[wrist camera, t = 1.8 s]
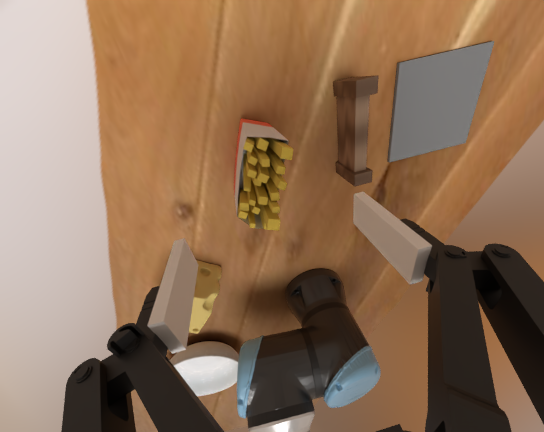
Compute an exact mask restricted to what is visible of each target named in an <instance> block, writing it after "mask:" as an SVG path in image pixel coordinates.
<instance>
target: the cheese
mask: <svg viewBox="0 0 544 432" xmlns="http://www.w3.org/2000/svg"><path fill="white" fill-rule="evenodd" d="M196 261H197V263H198V271H197V278H196V285H195V292H194V299H193V306H192V313H191V320H190V327H189V332H191V333H196V334H198V333H199V331H200V330H201V328H202V327H203V325H204V324H205V322H206V321H207V319H208V318H209V316H210V315H211V313H212V307H213V302H214V300H215V298H216V297H217V295H218V293H219V290H220V284H219V283H218V282H219V279H220V278H221V273H222V270H221V267H220V266H218V265H214V264H209V263H205V262H202V261H199V260H196ZM160 285H161V284H160Z"/></svg>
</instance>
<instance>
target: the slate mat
mask: <svg viewBox="0 0 544 432" xmlns="http://www.w3.org/2000/svg"><path fill="white" fill-rule="evenodd" d="M493 45H494V41H491V42H487V43H482V44H478V45H474V46H469V47H465V48H461V49H456V50H452V51H448V52H443V53H439V54H435V55H430V56H426V57H422V58H417V59H413V60H408V61H404V62H400V63H397V71H396V81H395V91H394V101H393V111H392V121H391V131H390V141H389V151H388V161H387V162H393V161H397V160H401V159H405V158H408V157H412V156H416V155H420V154H424V153H428V152H432V151H436V150H440V149H443V148H447V147H451V146H455V145H459V144H463V143H466V139H467V136H468V132H469V129H470V125H471V122H472V118H473V115H474V111H475V108H476V104H477V101H478V97H479V94H480V90H481V87H482V83H483V80H484V76H485V73H486V69H487V66H488V62H489V59H490V55H491V52H492V48H493Z"/></svg>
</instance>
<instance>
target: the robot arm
mask: <svg viewBox="0 0 544 432" xmlns="http://www.w3.org/2000/svg"><path fill="white" fill-rule="evenodd" d="M353 223H354V224H355V225H356V226H357V228H358V229H359V230H360V231H361V232H362V233H363V234H364V235H365V236H366V237H367V238H368V239H369V241H370V242H371V243H372V244H373V245H374V246H375V247H376V248H377V249H378V250H379V251H380V253H381V254H382V255H383V256H384V257H385V258H386V259H387V260H388V261H389V262H390V263H391V265H392V266H393V267H394V268H395V269H396V270H397V271H398V272H399V273H400V274H401V275H402V277H403V278H404V279H405V280H406V281H407V282H408V283H409V284H414V283H417V282H420V281H422V280H423V276H424V274H425V275H426V276H427V277H428V278H429V282H428V285H427V288H426V291H427V292H428V413H427V419H426V427H425V432H511V428H510V424H509V420H508V418H507V416H506V414H505V412H504V411H503V410H501V409H500V408H499V406H498V404H497V400H496V395H495V389H494V384H493V379H492V373H491V368H490V363H489V358H488V352H487V347H486V342H485V336H484V330H483V325H482V320H481V315H480V309H479V304H478V301H479V303H480V305H481V307H482V309H483V311H484V313H485V315H486V317H487V318H488V320H489V322H490V324H491V326H492V328H493V329H494V332H495V333H496V335H497V337H498V339H499V341H500V343H501V344H502V347H503V348H504V350H505V352H506V354H507V356H508V358H509V360H510V362H511V363H512V365H513V367H514V369H515V371H516V373H517V375H518V377H519V379H520V380H521V382H522V384H523V386H524V388H525V390H526V392H527V394H528V395H529V397H530V399H531V401H532V403H533V405H534V407H535V409H536V411H537V412H538V414H539V416H540V418H541V420H542V422H543V424H544V282H543V281H542V279H541V278H540V277H539V276H538V275H537V274H536V272H535V271H534V270H533V269H532V268H531V267H530V266H529V265H528V263H527V262H526V261H525V260H524V259H523V257H522V256H521V255H520V254H519V253H518V252H517V251H516V250H514V249H512V248H510V247H508V246H505V245H501V244H488V245H486V246H485V248H484V250H483V251H479V252H477V251H476V252H466V251H465V250H464V249H462V248H459V247H456V246H452V245H444V244H443V243H442V242H440V241H439V240H438V239H436V238H435V237H433V236H432V235H431V234H429V233H428V232H427V231H425V230H424V229H423V228H420V226H419V225H417V224H416V223H414V222H413V221H410V220H408V219H401V220H399V219H398V218H396V217H395V216H394V215H393V214H391V213H390V212H389V211H388V210H386V209H385V208H384V207H382V206H381V205H380V204H379V203H377V202H376V201H375V200H373V199H372V198H371V197H370V196H368V195H367V194H366V193H365V192H360V193H356V194H354V212H353ZM197 271H198V263H197V261H196V259H195V257H194V255H193V253H192V251H191V250H190V248H189V246H188V244H187V242H186V240H185V238H184V239H180V240H176V241H174V244H173V247H172V250H171V253H170V256H169V259H168V262H167V266H166V269H165V272H164V275H163V278H162V281H161V285H160V286H157V287H154V288H152V289H151V290H150V292H149V293H148V294H147V296H146V299H145V301H144V305H143V307H142V309H141V310H142V311H141V312H140V315H139V318H138V320H137V323H136V324H134V323H128V324H126V325H123V326H122V327H120V328H119V329H117V330H116V331H115V332H114V333H113V334H112V336H111V337H110V339H109V341H108V344H107V347H108V350H109V351H111V352H112V353H113V355H111V356H109V357H108V358H106V359H104V360H102V361H100V360H98V359H96V358H92V359H88V360H87V361H85V362H83V363H82V364H80V365H79V366H78V367H77V368H76V369H75V370H74V371H73V372H72V374H71V375H70V377H69V379H68V381H67V384H66V392H65V403H64V412H63V423H62V432H136V429H135V421H134V414H133V406H132V399H131V391H133V390H134V389H135V390H136V391H137V393H138V395H139V397H140V399H141V401H142V402H143V404H144V406H145V408H146V410H147V412H148V413H149V415H150V417H151V419H152V421H153V423H154V424H155V426H156V428H157V430H158V432H224V431H223V430H222V428H221V427H220V426H219V424H218V423H217V422H216V420H215V419H214V418H213V417H212V415H211V414H210V413H209V411H208V410H207V409H206V407H205V406H204V405H203V403H202V402H201V401H200V400H199V398H198V397H197V396H196V394H195V393H194V392H193V390H192V389H191V388H190V386H189V385H188V384H187V383H186V381H185V380H184V379H183V377H182V376H181V375H180V373H179V372H178V371H177V370H176V368H175V367H174V366H173V364H172V363H171V362H170V360H169V359H168V358H167V357H166V354H167V349H169V350H170V352H171V353H172V354H173V353H176V352H180V351H183V350H186V348H187V341H188V334H189V327H190V320H191V313H192V306H193V299H194V292H195V285H196V278H197ZM285 296H286V300H287V304H288V306H289V308H290V310H291V311H292V312H293V314H294V315H295V317H296V318H297V319H298V321H299V322H300V323H301V325H302V328H301V329H296V330H292V331H287V332H282V333H277V334H272V335H268V336H264V335H262V336H261V337H259V338H255V339H251V340H248V341H246V342H244V343H243V345H242V346H241V349H240V352H239V359H238V371H237V402H238V404H237V408H238V414H239V416H240V417H243V418H246V417H247V418H248V429H249V432H310V425H311V422H312V420H313V417H314V415H315V411H314V407H313V402H312V399H315V398H319V397H324V401H325V402H326V403H327V405H328V406H329V407H331V408H335V407H342V406H345V405H347V404H349V403H352V402H354V401H355V400H357V399H359V398H361V397H362V396H364V395H365V394H366V393H367V392H369V391H370V390H371V389H372V388H373V387H374V385H376V383H377V382H378V380H379V378H380V367H379V364H378V362H377V360H376V358H375V356H374V354H373V352H372V348H371V347H370V346H369V344H368V342H367V340H366V339H365V337H364V335H363V333H362V332H361V330H360V328H359V326H358V324H357V323H356V321H355V319H354V317H353V316H352V314H351V312H350V310H349V309H348V307H347V303H346V298H345V292H344V287H343V284H342V282H341V280H340V278H339V277H338V275H337V274H336V273H335V272H333V271H331V270H328V269H314V270H310V271H307V272H305V273H302V274H301V275H299V276H297V277H296V278H295V279H294V280H293V281H292V282H291V283H290V284H289V285H288V287H287V289H286V294H285ZM376 432H410V431H403V430H402V428H401V426H400V424H398V425H395V426H392V427H389V428H386V429H383V430H380V431H376Z"/></svg>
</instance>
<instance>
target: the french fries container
mask: <svg viewBox="0 0 544 432" xmlns="http://www.w3.org/2000/svg"><path fill="white" fill-rule="evenodd" d="M288 141H289V140H287V139H286V138H285V137H284V136H283V135H282V134H280V133H279V132H278V131H277V130H276V129H275V128H273V127H272V126H271V125H270V124H269V123H265V122H259V121H253V120H248V119H242V118H241V121H240V127H239V132H238V141H237V150H236V160H235V173H234V195H235V204H236V212H237V217H238V218H240V219H241V220H243V221H244V222H246V223H247V224H248V225H249V226H250V228H258V229H267V230H279V227H280V218H279V216H278V215H277V213H280V206H279V205H278V203H277V201H278V200H280V199H279V191H278V189H281V190H284V191H285V188H286V186H287V182H286V181H285V180H284V178H283V177H282V176H281V175H284V173H285V168H286V167H285V166H284V161H285V159H287V160H292V155H293V148H291V147H290V146H288Z"/></svg>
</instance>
